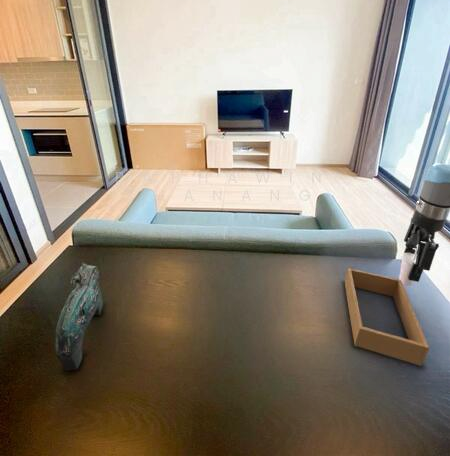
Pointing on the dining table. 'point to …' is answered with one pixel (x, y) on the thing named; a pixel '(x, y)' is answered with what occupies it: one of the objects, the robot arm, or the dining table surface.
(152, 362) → the dining table surface
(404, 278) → the smoothie
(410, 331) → the wooden box
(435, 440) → the dining table surface
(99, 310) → the dark teal curved piece
